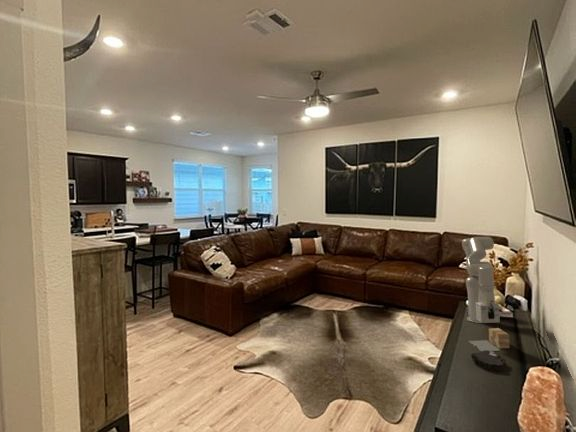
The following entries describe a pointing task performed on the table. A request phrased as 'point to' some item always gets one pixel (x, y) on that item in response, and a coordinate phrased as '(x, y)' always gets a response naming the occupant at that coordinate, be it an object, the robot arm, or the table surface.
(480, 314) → the light bulb box
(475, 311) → the robot arm
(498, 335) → the tan block
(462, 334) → the table surface
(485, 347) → the grey mat
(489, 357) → the rock sample
